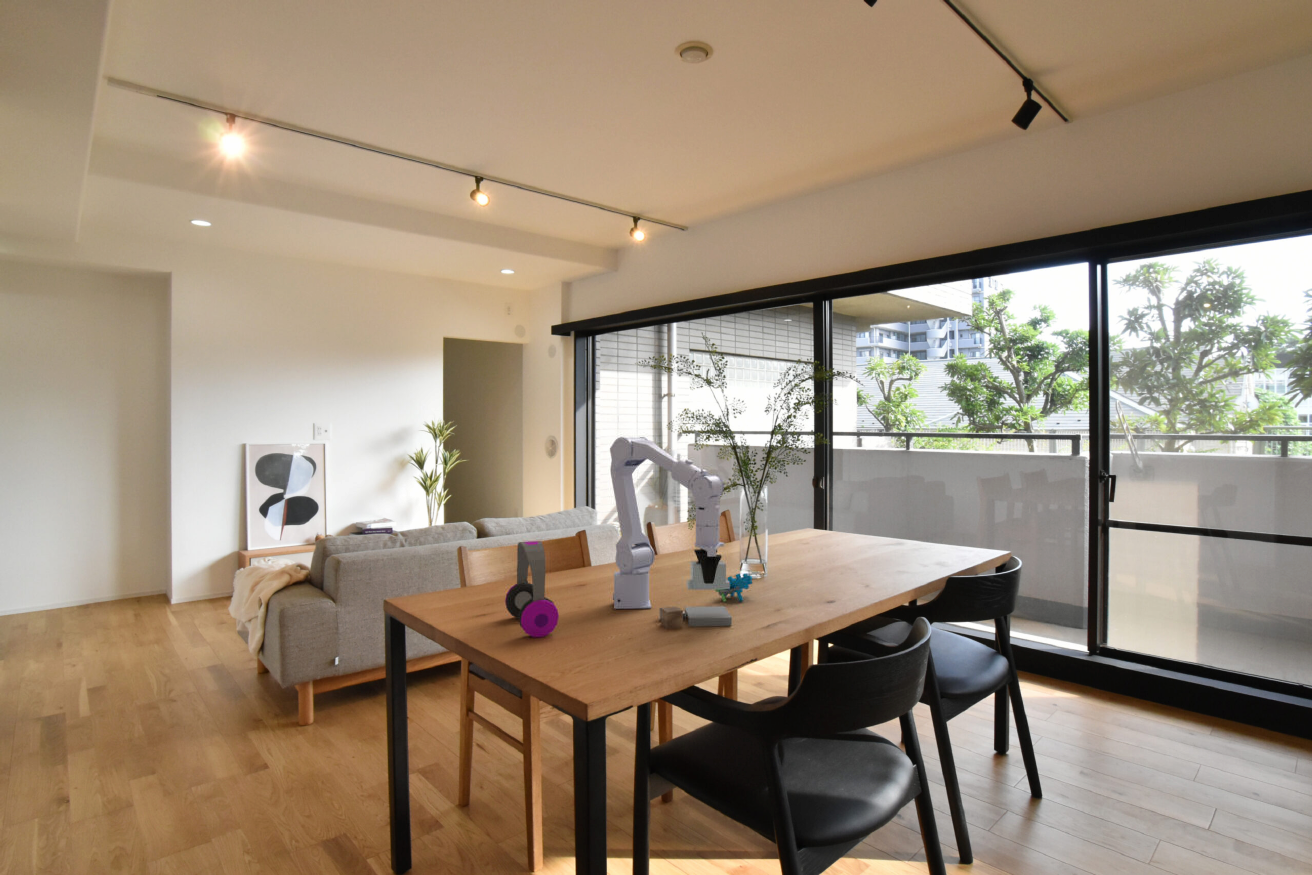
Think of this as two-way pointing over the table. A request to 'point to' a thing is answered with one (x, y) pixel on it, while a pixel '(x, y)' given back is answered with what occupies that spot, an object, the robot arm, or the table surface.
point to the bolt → (660, 614)
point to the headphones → (531, 592)
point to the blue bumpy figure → (736, 586)
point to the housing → (698, 580)
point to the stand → (708, 616)
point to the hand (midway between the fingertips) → (707, 580)
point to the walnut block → (671, 617)
